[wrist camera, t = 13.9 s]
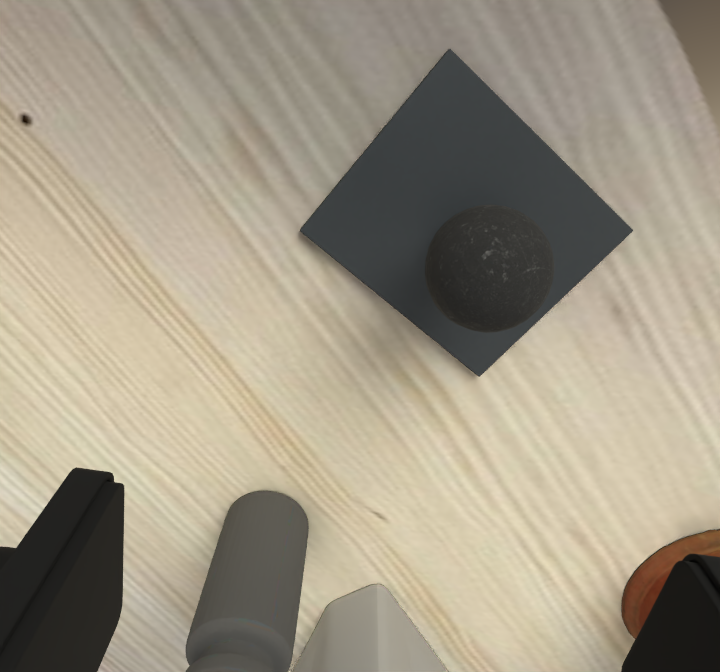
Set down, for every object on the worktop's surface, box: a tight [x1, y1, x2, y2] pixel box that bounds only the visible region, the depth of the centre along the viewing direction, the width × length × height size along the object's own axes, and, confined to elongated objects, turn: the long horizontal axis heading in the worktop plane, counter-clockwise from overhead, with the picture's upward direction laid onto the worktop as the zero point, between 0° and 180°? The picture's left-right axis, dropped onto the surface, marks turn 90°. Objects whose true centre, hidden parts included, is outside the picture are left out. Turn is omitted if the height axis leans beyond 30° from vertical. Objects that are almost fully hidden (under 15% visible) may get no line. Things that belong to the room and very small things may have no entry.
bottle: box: [186, 491, 308, 672], centre depth 36 cm, size 6×6×15 cm
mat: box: [300, 49, 633, 376], centre depth 34 cm, size 14×12×1 cm
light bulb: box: [425, 205, 554, 333], centre depth 29 cm, size 6×6×10 cm
